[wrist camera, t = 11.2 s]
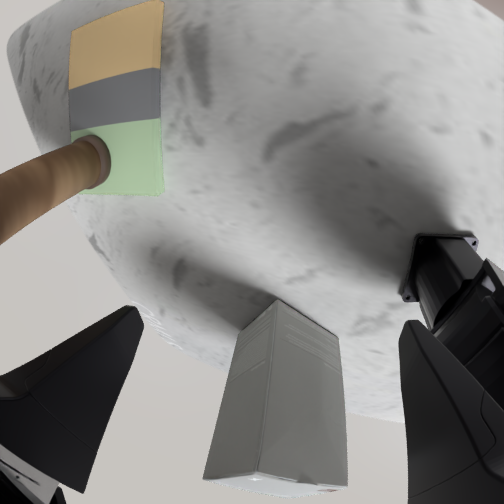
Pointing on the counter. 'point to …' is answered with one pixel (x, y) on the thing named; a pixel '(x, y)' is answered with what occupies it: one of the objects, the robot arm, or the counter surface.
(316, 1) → the counter surface
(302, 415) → the skincare box
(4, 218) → the walnut peg
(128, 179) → the striped board
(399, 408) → the counter surface
